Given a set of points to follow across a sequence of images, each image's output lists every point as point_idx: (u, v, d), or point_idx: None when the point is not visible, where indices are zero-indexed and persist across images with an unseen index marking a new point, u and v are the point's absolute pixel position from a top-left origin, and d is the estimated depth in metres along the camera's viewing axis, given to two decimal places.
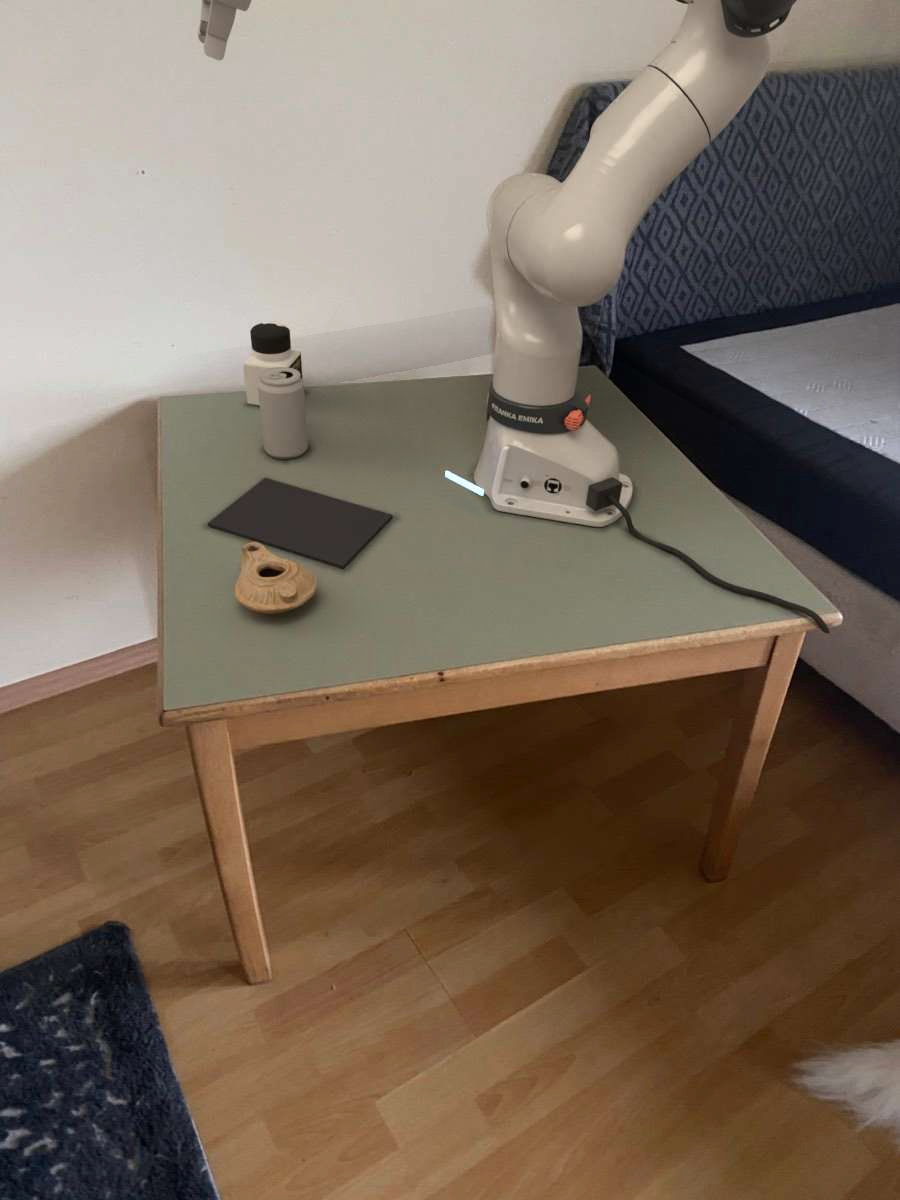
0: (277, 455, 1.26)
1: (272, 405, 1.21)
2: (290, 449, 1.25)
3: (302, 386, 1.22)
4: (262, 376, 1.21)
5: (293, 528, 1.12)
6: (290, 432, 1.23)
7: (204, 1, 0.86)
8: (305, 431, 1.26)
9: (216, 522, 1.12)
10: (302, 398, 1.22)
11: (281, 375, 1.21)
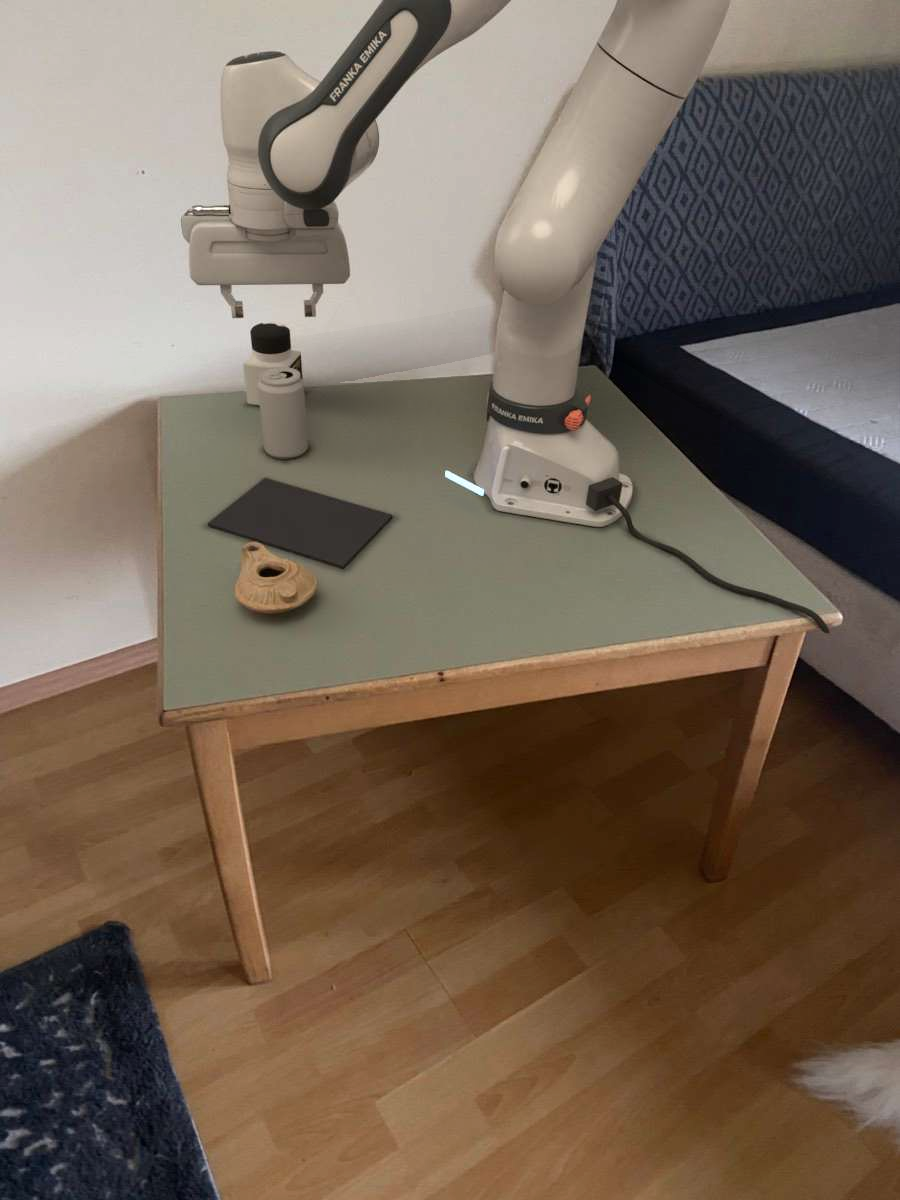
0: (277, 455, 1.26)
1: (272, 405, 1.21)
2: (290, 449, 1.25)
3: (302, 386, 1.22)
4: (262, 376, 1.21)
5: (293, 528, 1.12)
6: (290, 432, 1.23)
7: None
8: (305, 431, 1.26)
9: (216, 522, 1.12)
10: (302, 398, 1.22)
11: (281, 375, 1.21)
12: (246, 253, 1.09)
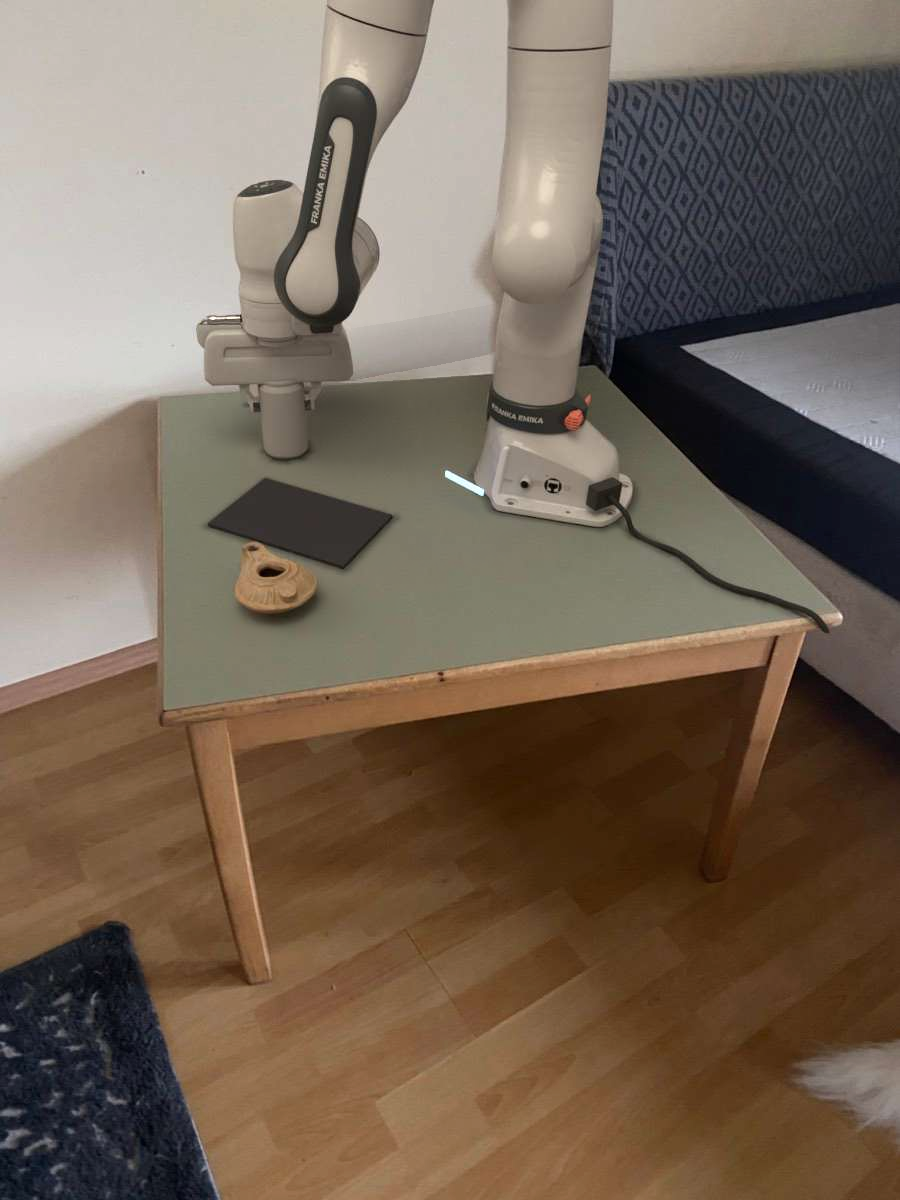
0: (277, 455, 1.26)
1: (272, 405, 1.21)
2: (290, 449, 1.25)
3: (302, 386, 1.22)
4: None
5: (293, 528, 1.12)
6: (291, 432, 1.23)
7: None
8: (305, 431, 1.26)
9: (216, 522, 1.12)
10: (302, 398, 1.22)
11: None
12: (256, 357, 1.17)
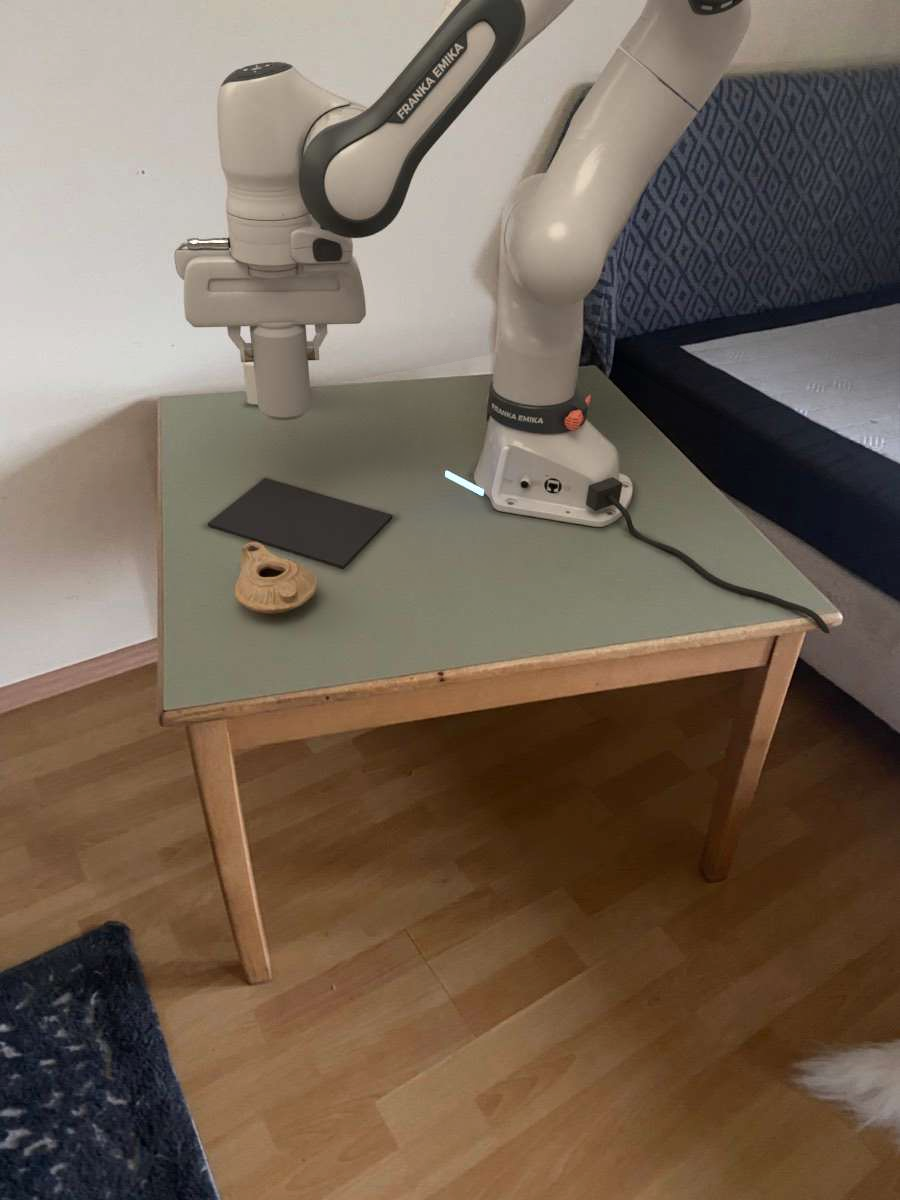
0: (274, 415, 1.04)
1: (267, 352, 0.99)
2: (289, 407, 1.04)
3: (304, 330, 1.00)
4: None
5: (293, 528, 1.12)
6: (290, 386, 1.02)
7: None
8: (307, 386, 1.05)
9: (216, 522, 1.12)
10: (304, 345, 1.01)
11: None
12: (248, 291, 0.96)
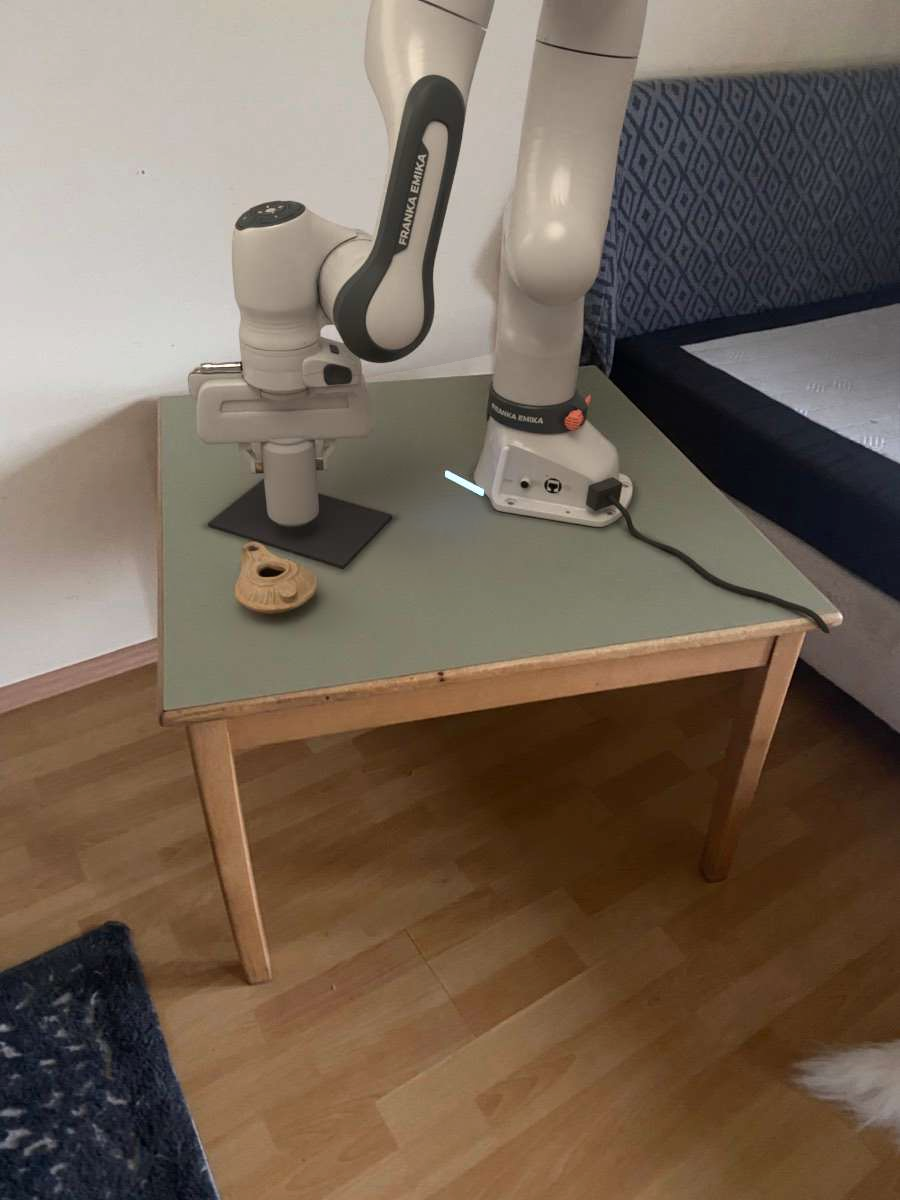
0: (283, 523, 1.07)
1: (277, 466, 1.02)
2: (298, 516, 1.06)
3: (313, 444, 1.03)
4: None
5: (293, 528, 1.12)
6: (299, 497, 1.05)
7: None
8: (316, 494, 1.07)
9: (216, 522, 1.12)
10: (313, 457, 1.04)
11: None
12: (260, 411, 0.98)
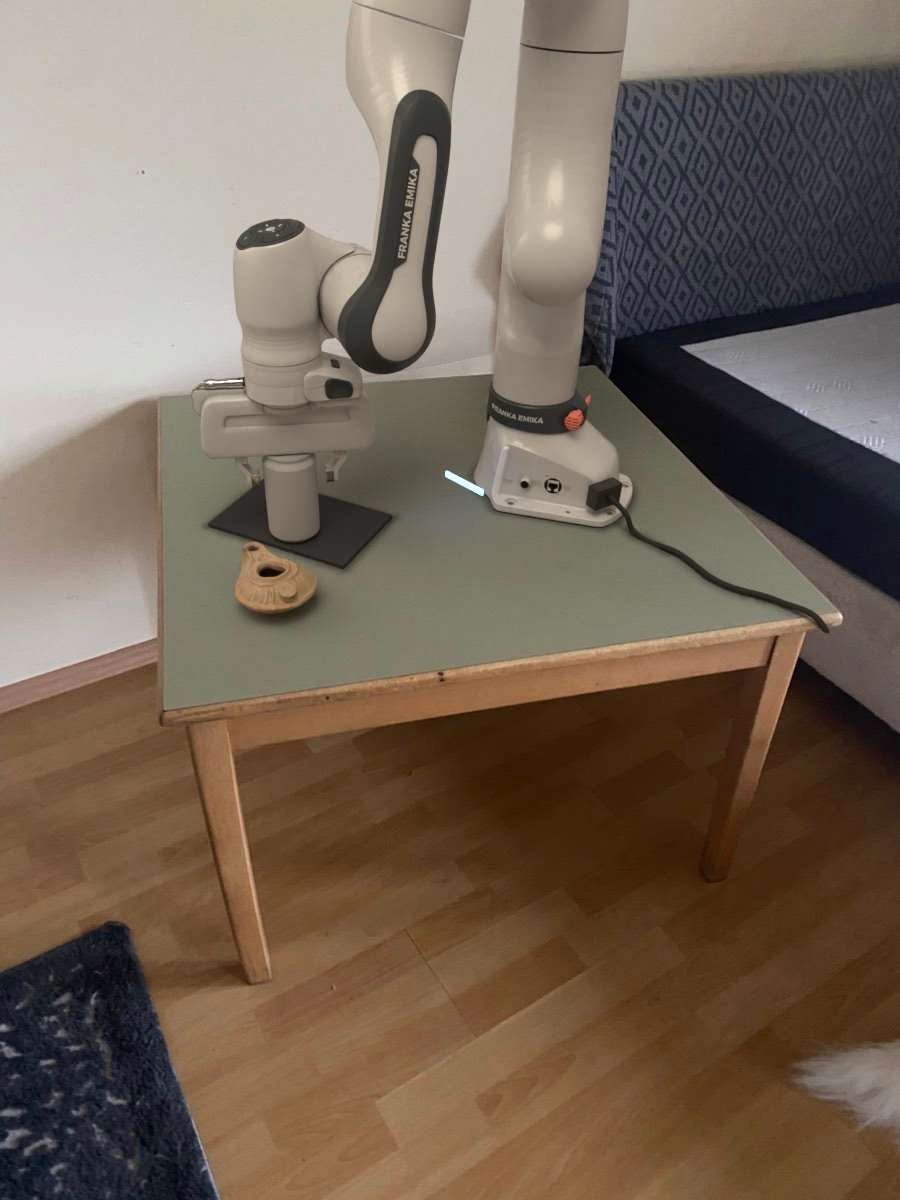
0: (284, 539, 1.08)
1: (279, 484, 1.03)
2: (299, 532, 1.08)
3: (314, 461, 1.04)
4: None
5: None
6: (300, 513, 1.06)
7: None
8: (317, 511, 1.09)
9: (216, 522, 1.12)
10: (314, 475, 1.05)
11: None
12: (263, 425, 1.00)
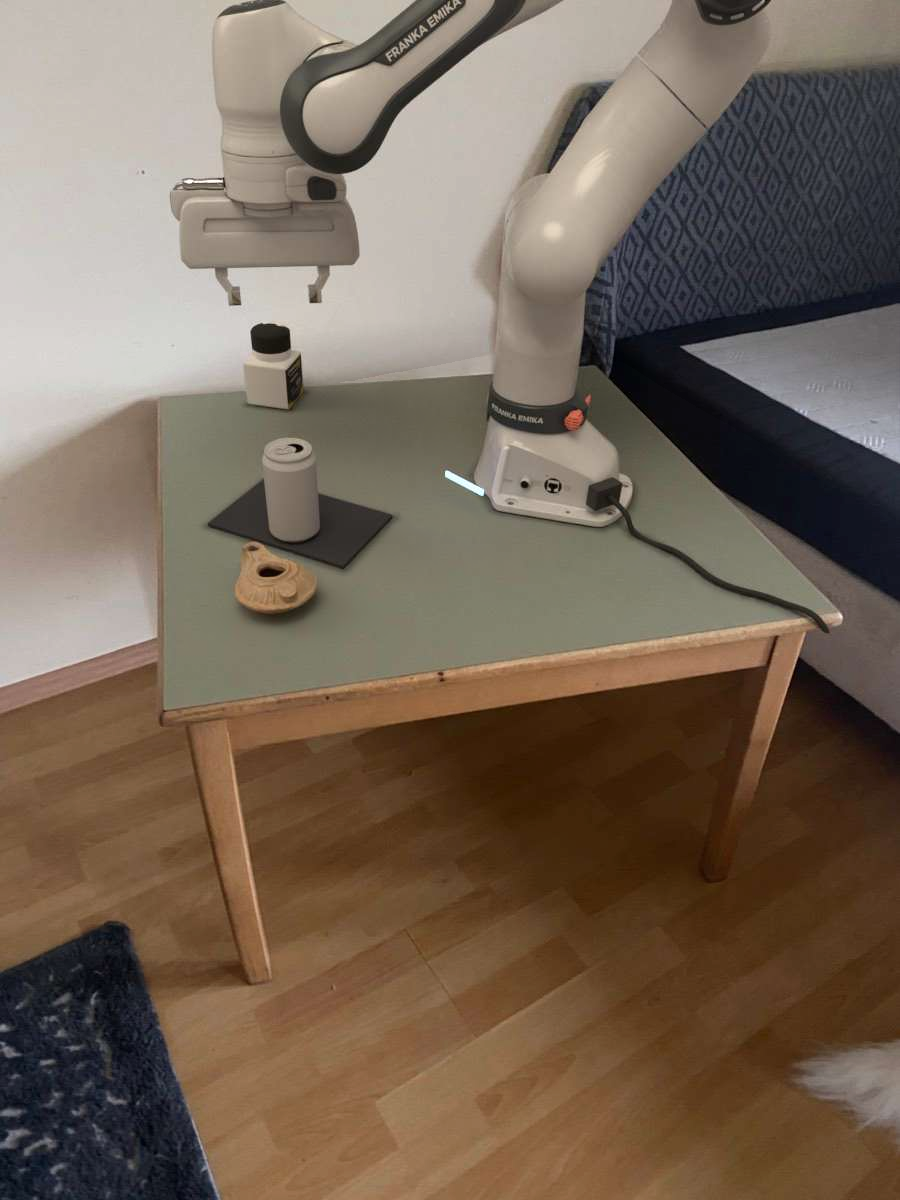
0: (284, 539, 1.08)
1: (279, 484, 1.03)
2: (299, 532, 1.08)
3: (314, 461, 1.04)
4: (267, 450, 1.04)
5: None
6: (300, 513, 1.06)
7: None
8: (317, 511, 1.09)
9: (216, 522, 1.12)
10: (314, 475, 1.05)
11: (290, 449, 1.04)
12: (243, 232, 0.97)
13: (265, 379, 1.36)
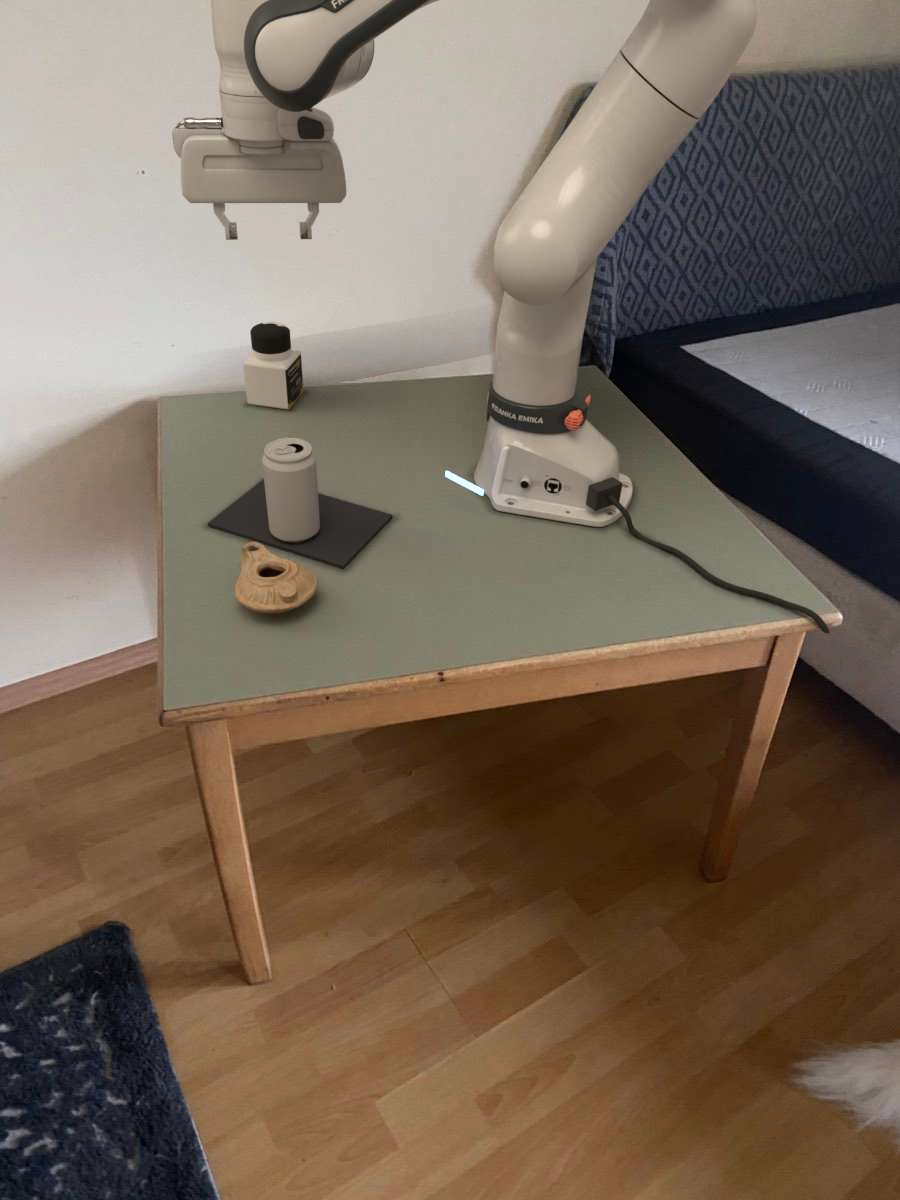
0: (284, 539, 1.08)
1: (279, 484, 1.03)
2: (299, 532, 1.08)
3: (314, 461, 1.04)
4: (267, 450, 1.04)
5: None
6: (300, 513, 1.06)
7: None
8: (317, 511, 1.09)
9: (216, 522, 1.12)
10: (314, 475, 1.05)
11: (290, 449, 1.04)
12: (239, 168, 1.06)
13: (265, 379, 1.36)
